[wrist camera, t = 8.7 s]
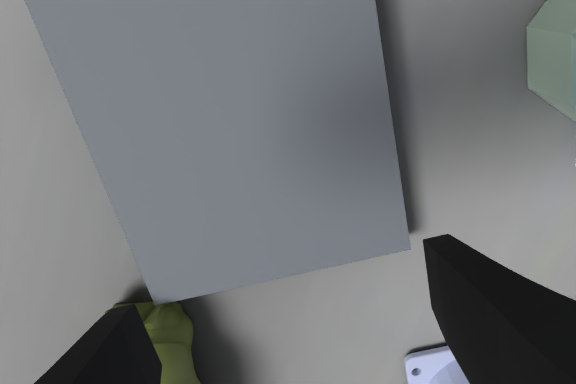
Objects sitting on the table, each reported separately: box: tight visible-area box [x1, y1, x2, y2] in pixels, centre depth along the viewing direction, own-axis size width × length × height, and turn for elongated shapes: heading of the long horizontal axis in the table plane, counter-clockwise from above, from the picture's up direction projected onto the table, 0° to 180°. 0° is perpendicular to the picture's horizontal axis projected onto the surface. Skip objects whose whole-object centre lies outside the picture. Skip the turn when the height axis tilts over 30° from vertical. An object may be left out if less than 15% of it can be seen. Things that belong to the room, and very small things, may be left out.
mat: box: [25, 0, 411, 306], centre depth 19 cm, size 14×12×1 cm
